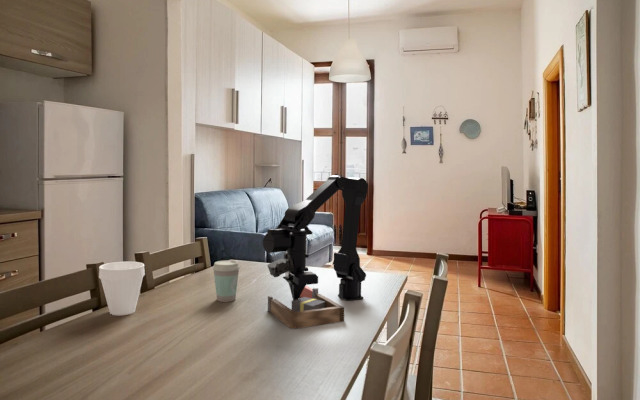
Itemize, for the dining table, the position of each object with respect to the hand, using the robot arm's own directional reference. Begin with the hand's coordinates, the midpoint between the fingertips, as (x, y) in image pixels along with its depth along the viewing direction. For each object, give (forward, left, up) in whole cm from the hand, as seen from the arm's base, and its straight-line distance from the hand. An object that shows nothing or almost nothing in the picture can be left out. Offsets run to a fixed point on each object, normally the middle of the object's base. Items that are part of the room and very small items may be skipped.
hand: (295, 301), depth 144 cm
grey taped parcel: (-2, +4, -3) cm, 6 cm away
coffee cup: (+16, -19, -3) cm, 25 cm away
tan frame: (0, +6, -3) cm, 6 cm away
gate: (-8, -8, -2) cm, 11 cm away
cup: (+47, -18, -3) cm, 50 cm away
